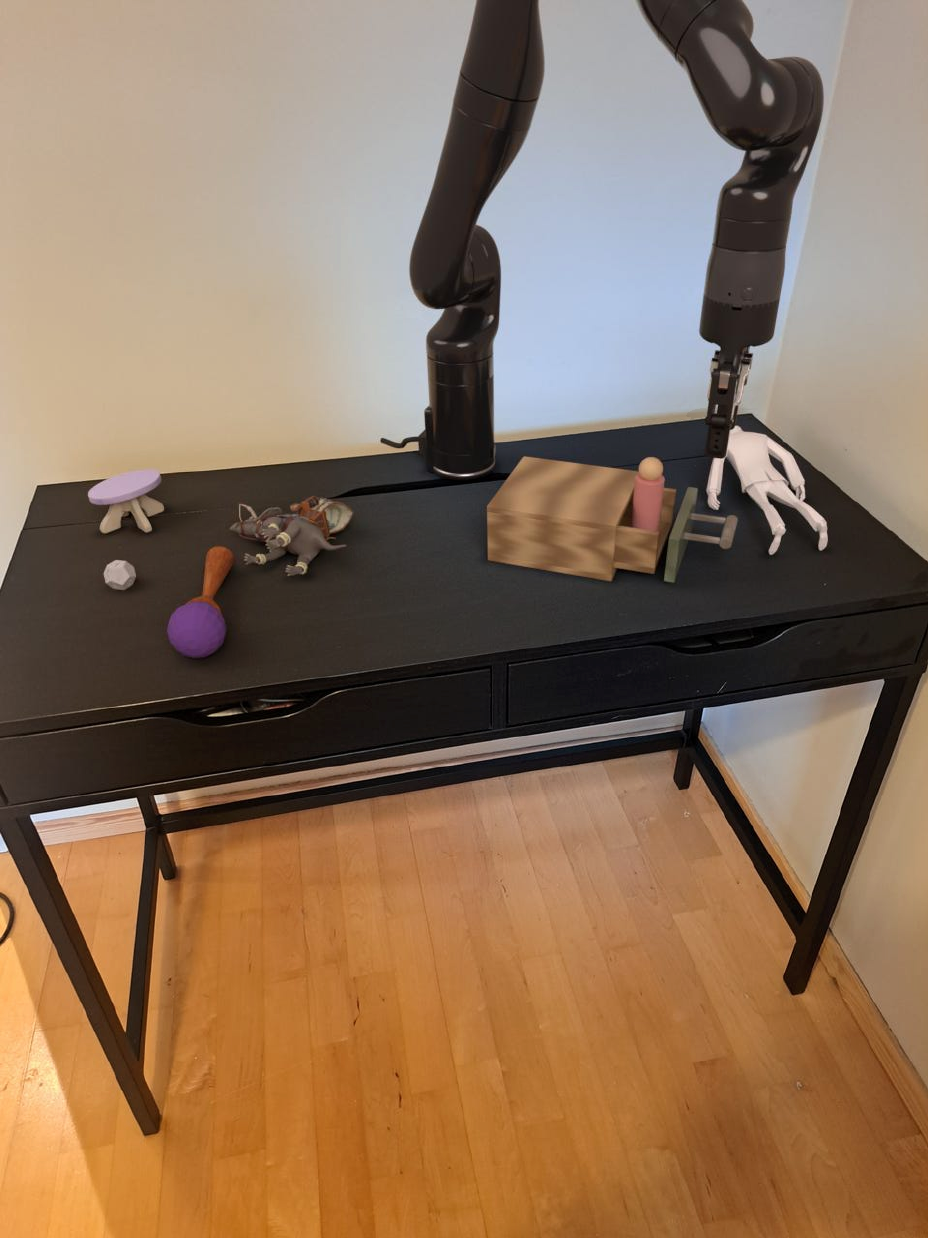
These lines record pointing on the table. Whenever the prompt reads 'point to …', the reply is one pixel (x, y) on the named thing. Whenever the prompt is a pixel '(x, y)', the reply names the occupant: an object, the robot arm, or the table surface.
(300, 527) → the figurine
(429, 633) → the table surface
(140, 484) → the toy table
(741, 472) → the male figurine
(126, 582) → the game die
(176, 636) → the purple maraca
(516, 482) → the cabinet
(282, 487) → the table surface
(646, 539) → the drawer
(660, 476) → the pink game pawn
